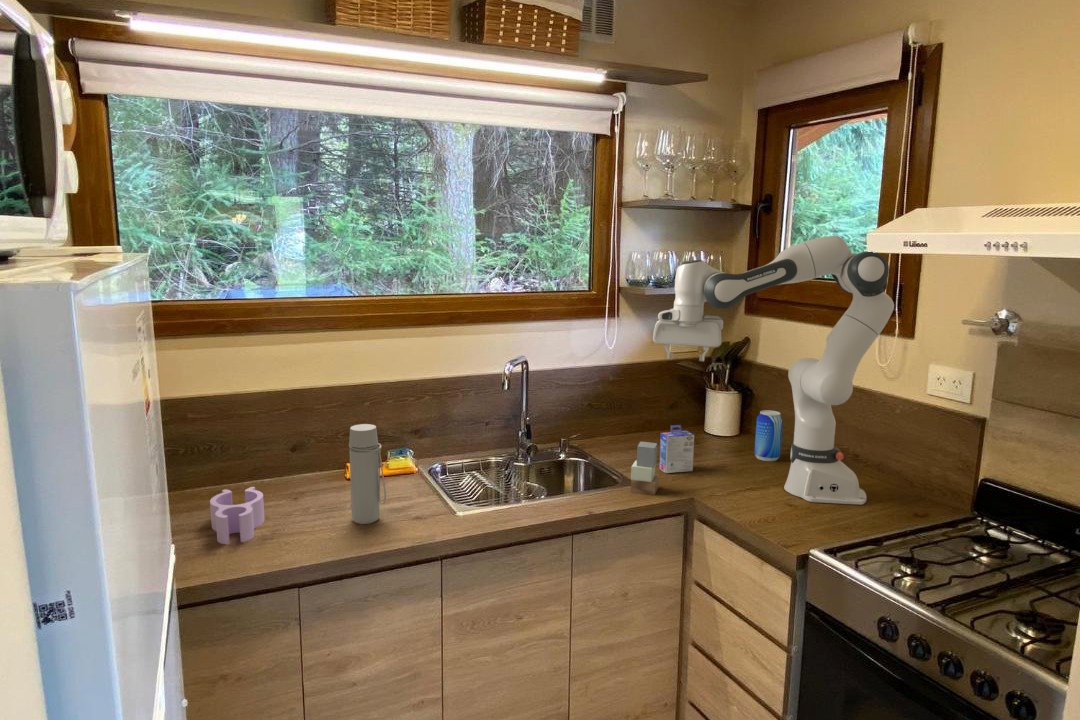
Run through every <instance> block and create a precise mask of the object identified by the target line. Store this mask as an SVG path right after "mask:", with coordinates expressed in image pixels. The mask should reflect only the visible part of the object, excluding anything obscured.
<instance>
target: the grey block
mask: <svg viewBox="0 0 1080 720" xmlns="http://www.w3.org/2000/svg"><path fill="white" fill-rule="evenodd" d="M636 449H637V450H636V460H637V466H641V467H649V468H654V466H655V467H656V465H657V457H658V456H657V455H658V443H655V442H648V441H640V442H638V445H637V448H636Z"/></svg>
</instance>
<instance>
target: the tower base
mask: <svg viewBox="0 0 1080 720" xmlns="http://www.w3.org/2000/svg"><path fill="white" fill-rule="evenodd" d="M659 482H660V475H659V474H655V476H654V478H653V480H652V482H647V481H639V480H632V479H630V493H634V494H642V495H650V496H655V495H656V493H657V492H658V490H659V487H660V486H659V484H660V483H659Z"/></svg>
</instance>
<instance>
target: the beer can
mask: <svg viewBox="0 0 1080 720" xmlns="http://www.w3.org/2000/svg"><path fill="white" fill-rule="evenodd" d="M755 425H756V426H755V436H754V437H755V438H754V440H755V441H754V450H753V451H754V452H753V453H754V456H755V457H756V459H758V460H761V461H764V462H777V460H778V459H780V458H781V449H782V448H781V447H782V440H783V439H782V438H783V437H782V436H783V425H784V419H783V418H782V415H781V412H780V411H776V410H772V409H771V410H770V409H769V410H768V409H767V410H766V409H764V410H760V412H759V414H758V415H757V417H756V424H755Z"/></svg>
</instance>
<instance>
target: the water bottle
mask: <svg viewBox="0 0 1080 720" xmlns="http://www.w3.org/2000/svg"><path fill="white" fill-rule="evenodd" d="M377 431H378V429H377V425H375V424H369V423H361V424H354V425H352V426H350V428H349V437H348V438H349V440H348V447H349V449H348V450H349V452H348V453H349V474H350V478H349V480H350V501H351V502H350V506H351V520H352V521H353V522H354V523H355V524H359V525H369V524H373V523H376V522H377V521H379V518H380V516H381V515H380V514H381V511H380V510H381V509H380V504H381V505H382V504H383V505H385V503H386V499H387V491H386V490H387V489H386V483H385V477H384V476H385V475H384V470H383V462H382V456H381V453H382V452H381V451H382V444H381V443H379V440H378V439H379V438H378V432H377ZM381 478H382V484H383V493H384V498H383V499H384V500H383V501H382V499H381Z"/></svg>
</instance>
